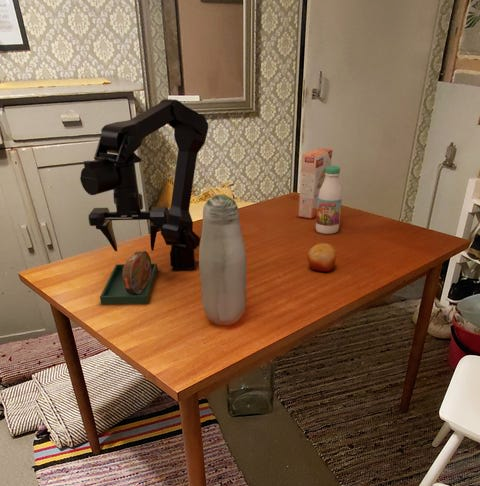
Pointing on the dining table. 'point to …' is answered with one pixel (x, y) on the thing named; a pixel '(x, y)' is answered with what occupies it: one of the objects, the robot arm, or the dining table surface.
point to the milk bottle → (329, 202)
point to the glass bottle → (222, 261)
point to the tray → (116, 289)
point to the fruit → (322, 257)
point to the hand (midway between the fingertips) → (134, 250)
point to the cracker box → (312, 180)
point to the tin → (137, 272)
